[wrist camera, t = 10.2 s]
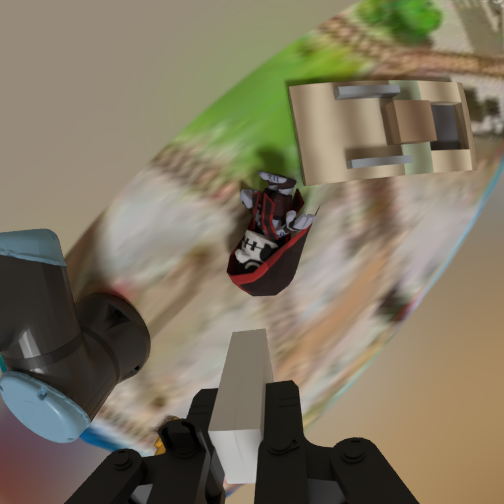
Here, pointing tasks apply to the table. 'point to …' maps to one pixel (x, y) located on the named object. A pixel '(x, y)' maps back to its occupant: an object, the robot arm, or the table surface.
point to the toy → (270, 238)
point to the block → (408, 122)
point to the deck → (376, 130)
